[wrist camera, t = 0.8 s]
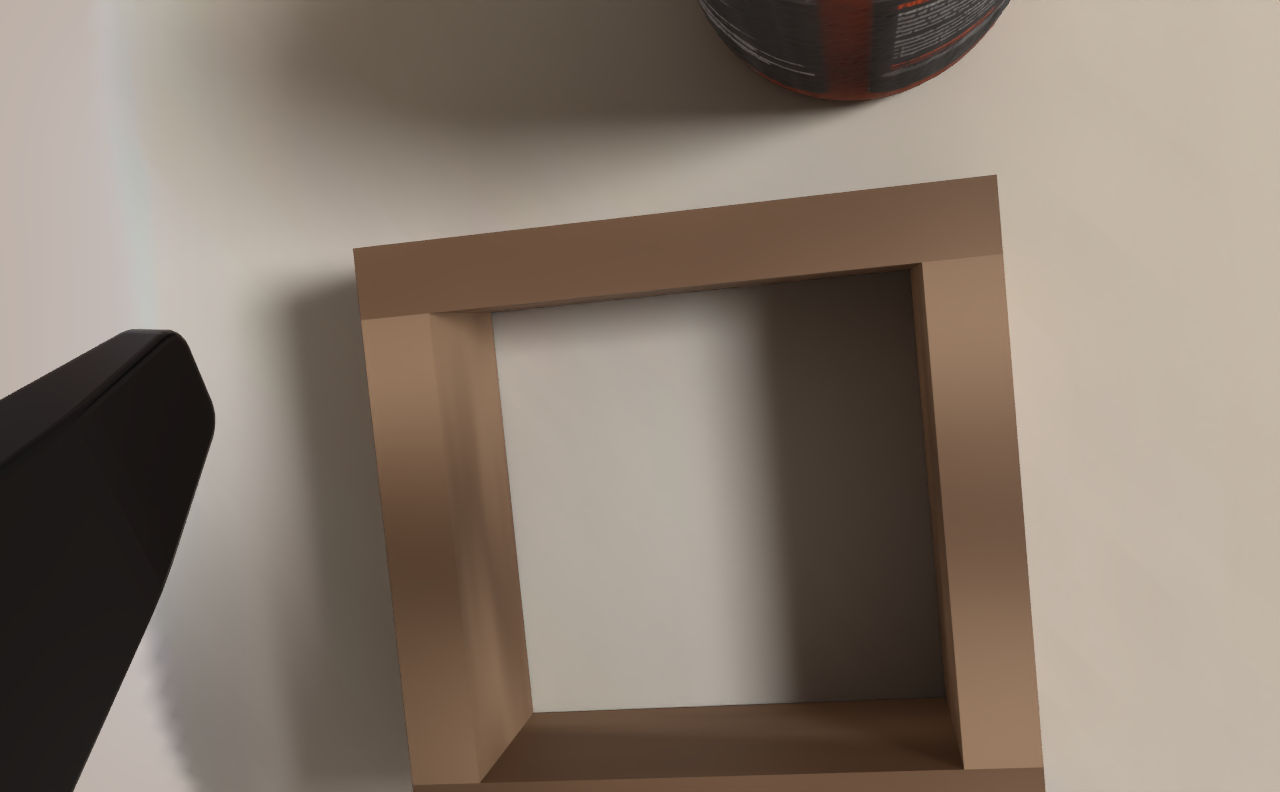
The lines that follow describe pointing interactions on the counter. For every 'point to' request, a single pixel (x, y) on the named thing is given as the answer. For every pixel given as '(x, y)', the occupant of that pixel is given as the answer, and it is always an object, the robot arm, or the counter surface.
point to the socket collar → (484, 532)
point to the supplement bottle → (851, 41)
